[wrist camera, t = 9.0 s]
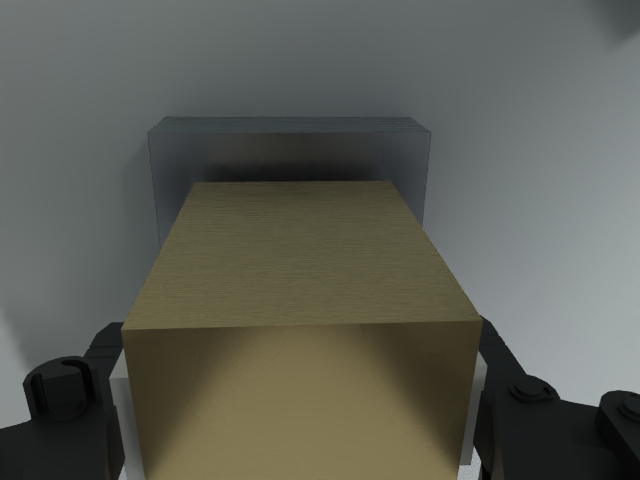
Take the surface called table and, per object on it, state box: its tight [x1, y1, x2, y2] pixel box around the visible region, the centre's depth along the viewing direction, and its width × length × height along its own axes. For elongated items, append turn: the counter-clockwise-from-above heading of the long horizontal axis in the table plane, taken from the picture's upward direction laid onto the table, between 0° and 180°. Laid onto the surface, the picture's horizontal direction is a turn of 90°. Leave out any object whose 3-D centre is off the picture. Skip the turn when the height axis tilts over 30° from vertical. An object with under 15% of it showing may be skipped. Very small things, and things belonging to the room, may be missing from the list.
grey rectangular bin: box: [147, 117, 431, 249], centre depth 19 cm, size 14×9×6 cm, turn 179°
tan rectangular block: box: [121, 181, 483, 480], centre depth 13 cm, size 6×6×8 cm
